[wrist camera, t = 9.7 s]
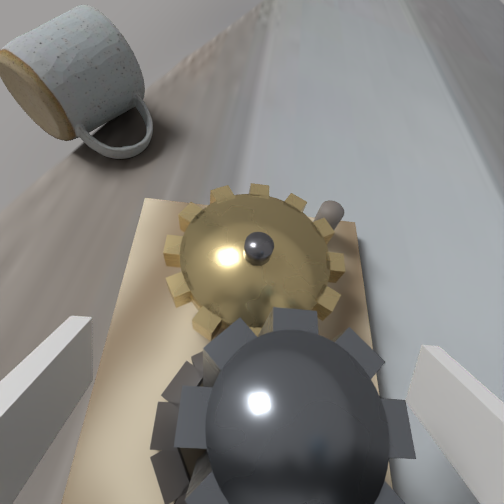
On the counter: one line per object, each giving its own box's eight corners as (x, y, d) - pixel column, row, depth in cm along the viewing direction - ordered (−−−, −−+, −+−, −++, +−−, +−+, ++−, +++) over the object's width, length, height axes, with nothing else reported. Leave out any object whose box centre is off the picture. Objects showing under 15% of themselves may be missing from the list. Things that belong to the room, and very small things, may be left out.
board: (347, 232, 26) (372, 197, 22) (408, 723, 14) (490, 838, 10) (148, 210, 25) (137, 168, 21) (11, 733, 12) (-80, 875, 8)
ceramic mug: (19, 120, 28) (-39, 22, 21) (94, 80, 31) (66, -14, 25) (109, 184, 26) (77, 98, 19) (177, 132, 30) (170, 47, 23)
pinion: (285, 384, 18) (392, 316, 8) (286, 490, 16) (443, 590, 5) (199, 378, 18) (194, 298, 8) (186, 487, 15) (152, 588, 5)
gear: (319, 224, 24) (342, 183, 20) (330, 366, 19) (363, 348, 15) (183, 208, 23) (178, 163, 19) (155, 352, 18) (141, 330, 14)
